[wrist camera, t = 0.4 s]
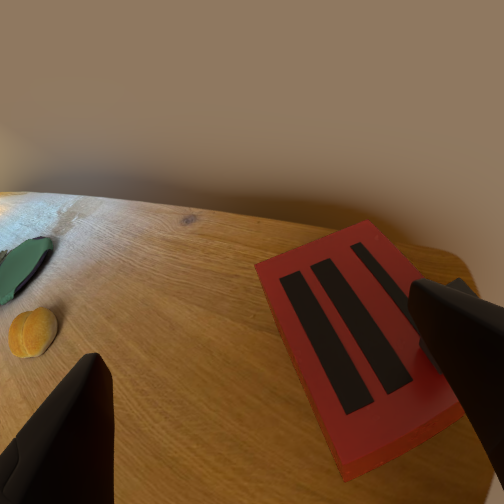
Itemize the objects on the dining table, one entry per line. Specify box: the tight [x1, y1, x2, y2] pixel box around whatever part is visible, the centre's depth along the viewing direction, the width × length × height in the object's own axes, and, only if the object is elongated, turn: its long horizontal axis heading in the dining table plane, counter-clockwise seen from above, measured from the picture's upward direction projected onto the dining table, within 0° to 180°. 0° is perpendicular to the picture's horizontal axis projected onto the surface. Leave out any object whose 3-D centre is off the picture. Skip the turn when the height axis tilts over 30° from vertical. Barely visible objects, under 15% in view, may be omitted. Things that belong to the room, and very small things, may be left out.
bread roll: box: [9, 307, 57, 358], centre depth 36 cm, size 8×9×4 cm
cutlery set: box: [0, 236, 53, 305], centre depth 54 cm, size 20×30×2 cm, turn 73°
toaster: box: [254, 219, 465, 482], centre depth 21 cm, size 16×10×8 cm, turn 16°
